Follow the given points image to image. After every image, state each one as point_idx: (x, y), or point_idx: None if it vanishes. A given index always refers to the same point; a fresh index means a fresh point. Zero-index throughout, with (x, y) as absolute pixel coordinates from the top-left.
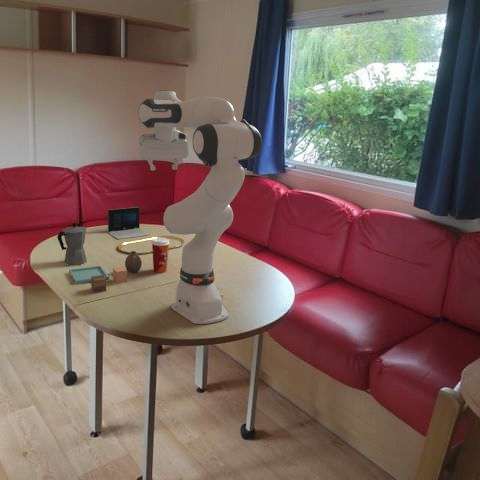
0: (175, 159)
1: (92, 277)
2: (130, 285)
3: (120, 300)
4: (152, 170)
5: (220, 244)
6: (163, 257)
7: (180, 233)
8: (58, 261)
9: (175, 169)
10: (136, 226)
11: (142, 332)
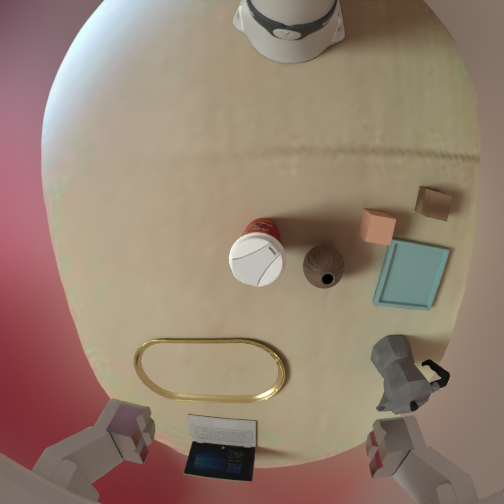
0: (88, 491)
1: (447, 214)
2: (367, 185)
3: (416, 127)
4: (405, 416)
5: (71, 309)
6: (261, 226)
7: None
8: None
9: (129, 403)
10: (197, 445)
11: (422, 6)
